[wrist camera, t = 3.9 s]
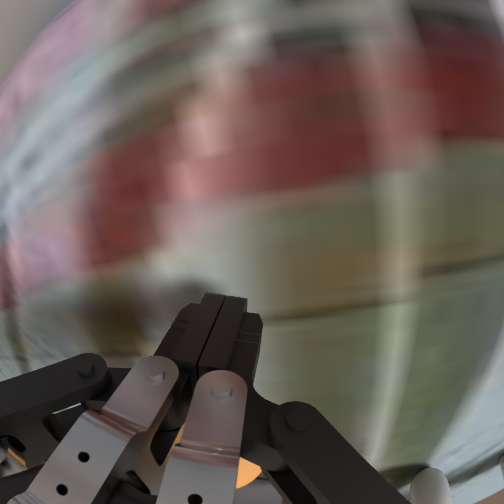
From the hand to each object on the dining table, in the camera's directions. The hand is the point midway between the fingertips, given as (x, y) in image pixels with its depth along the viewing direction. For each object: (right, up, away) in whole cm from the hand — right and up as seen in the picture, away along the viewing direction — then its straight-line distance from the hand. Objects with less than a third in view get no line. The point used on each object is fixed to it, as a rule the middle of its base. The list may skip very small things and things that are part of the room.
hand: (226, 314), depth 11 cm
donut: (+19, -20, +8) cm, 28 cm away
